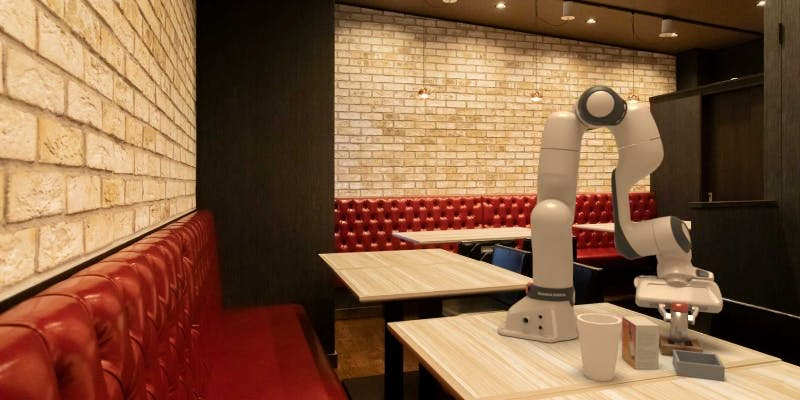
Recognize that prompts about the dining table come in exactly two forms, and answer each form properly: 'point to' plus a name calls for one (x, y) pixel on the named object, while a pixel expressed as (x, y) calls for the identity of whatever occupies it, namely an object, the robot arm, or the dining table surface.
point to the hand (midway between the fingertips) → (679, 322)
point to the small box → (640, 342)
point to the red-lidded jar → (679, 323)
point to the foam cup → (599, 344)
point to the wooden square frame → (678, 346)
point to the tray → (698, 365)
